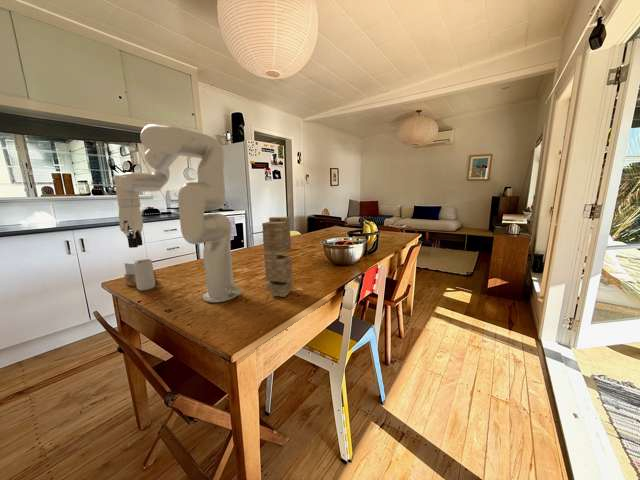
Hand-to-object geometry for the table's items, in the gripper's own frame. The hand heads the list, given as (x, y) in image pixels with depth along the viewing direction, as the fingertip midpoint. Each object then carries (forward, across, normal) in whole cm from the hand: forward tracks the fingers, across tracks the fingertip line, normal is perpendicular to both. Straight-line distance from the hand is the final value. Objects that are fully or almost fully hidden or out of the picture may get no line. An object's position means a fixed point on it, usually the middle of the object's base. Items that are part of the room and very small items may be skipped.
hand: (136, 246), depth 110 cm
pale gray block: (+12, 0, 0) cm, 12 cm away
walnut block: (+17, 0, 0) cm, 17 cm away
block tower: (+17, +29, +60) cm, 68 cm away
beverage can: (+17, +9, +6) cm, 20 cm away
